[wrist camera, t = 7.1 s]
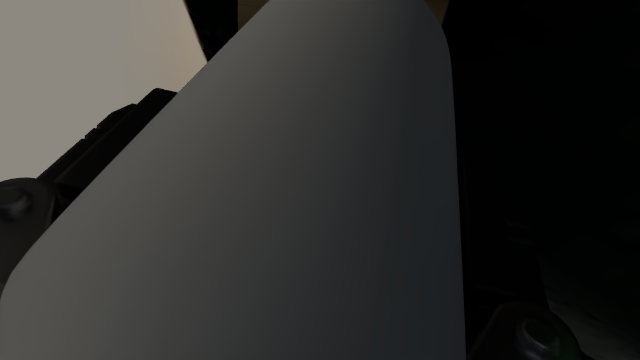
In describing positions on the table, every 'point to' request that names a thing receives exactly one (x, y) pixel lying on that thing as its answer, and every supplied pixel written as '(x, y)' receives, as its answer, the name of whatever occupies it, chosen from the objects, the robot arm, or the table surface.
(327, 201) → the can
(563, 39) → the table surface
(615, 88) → the table surface
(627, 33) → the table surface
